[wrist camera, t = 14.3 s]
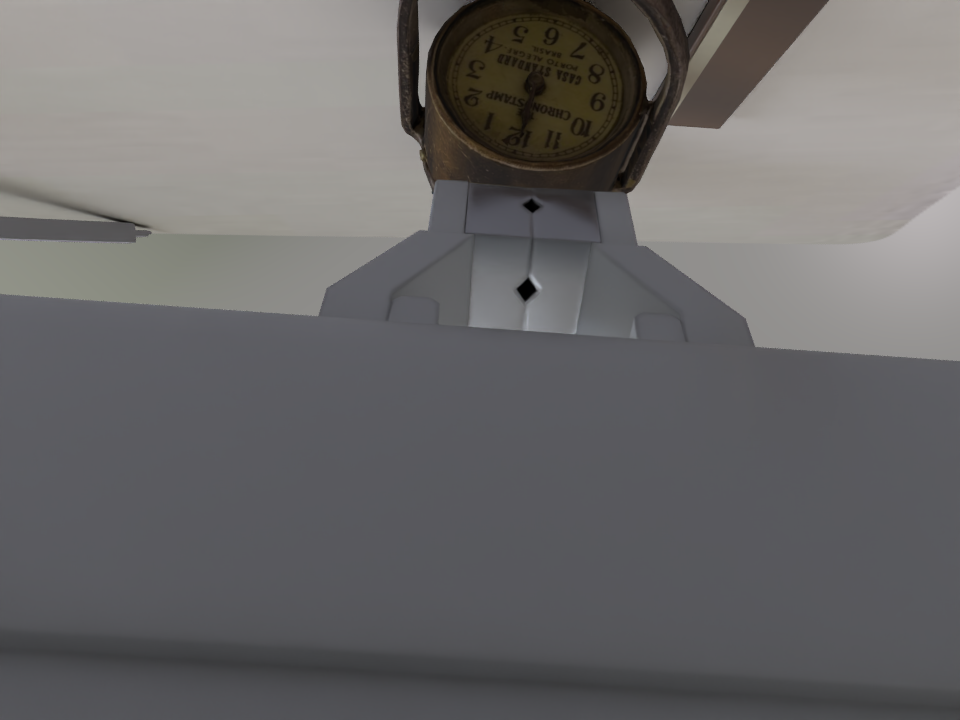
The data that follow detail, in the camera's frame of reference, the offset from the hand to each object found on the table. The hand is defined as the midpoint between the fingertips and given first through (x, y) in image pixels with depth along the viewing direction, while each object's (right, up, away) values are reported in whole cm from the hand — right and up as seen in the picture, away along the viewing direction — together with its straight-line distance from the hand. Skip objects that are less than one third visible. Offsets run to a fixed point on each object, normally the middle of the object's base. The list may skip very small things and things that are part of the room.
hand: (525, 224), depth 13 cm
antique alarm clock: (+2, +9, +10) cm, 14 cm away
